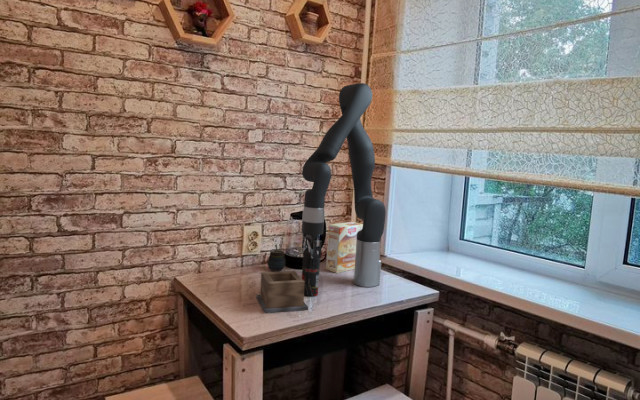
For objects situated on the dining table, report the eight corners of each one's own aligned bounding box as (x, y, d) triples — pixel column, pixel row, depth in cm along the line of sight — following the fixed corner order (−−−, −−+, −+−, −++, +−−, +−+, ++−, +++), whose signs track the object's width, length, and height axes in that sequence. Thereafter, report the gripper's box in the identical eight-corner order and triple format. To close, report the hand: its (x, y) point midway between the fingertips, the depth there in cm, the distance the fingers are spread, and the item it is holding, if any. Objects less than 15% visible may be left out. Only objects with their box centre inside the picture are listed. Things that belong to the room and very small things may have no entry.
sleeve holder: (295, 294, 151) (297, 269, 150) (307, 310, 138) (309, 282, 137) (256, 297, 146) (256, 271, 145) (264, 313, 133) (265, 285, 132)
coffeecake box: (336, 273, 178) (339, 227, 176) (325, 269, 183) (327, 224, 181) (361, 268, 188) (364, 223, 186) (349, 264, 193) (352, 221, 191)
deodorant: (315, 297, 149) (318, 255, 147) (299, 295, 150) (301, 253, 148) (319, 292, 155) (321, 251, 153) (303, 290, 156) (305, 249, 154)
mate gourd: (270, 273, 174) (271, 248, 173) (265, 267, 181) (265, 244, 180) (287, 271, 177) (288, 247, 176) (281, 266, 184) (282, 243, 183)
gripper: (330, 224, 144) (326, 271, 146) (317, 216, 157) (313, 259, 159) (308, 223, 141) (305, 271, 143) (297, 216, 155) (294, 260, 157)
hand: (309, 265), depth 151 cm, fingers open, 8 cm apart
